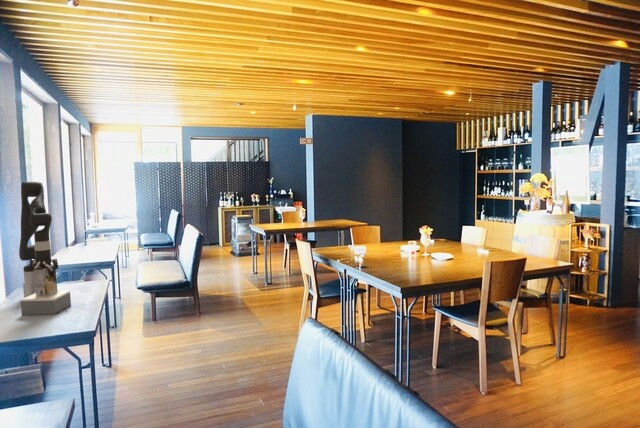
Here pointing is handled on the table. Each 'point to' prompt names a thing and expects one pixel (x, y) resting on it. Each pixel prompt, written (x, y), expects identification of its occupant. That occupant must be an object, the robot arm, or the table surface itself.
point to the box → (46, 306)
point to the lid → (48, 298)
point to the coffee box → (44, 282)
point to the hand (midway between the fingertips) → (44, 277)
